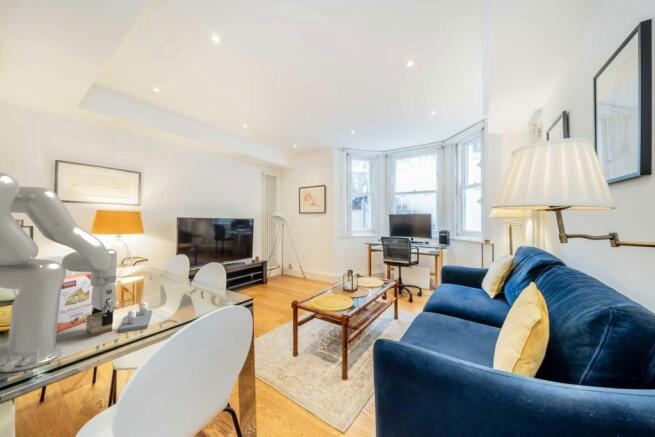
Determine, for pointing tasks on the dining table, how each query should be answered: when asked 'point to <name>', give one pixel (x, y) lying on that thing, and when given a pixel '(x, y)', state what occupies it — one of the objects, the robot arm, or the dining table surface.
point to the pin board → (137, 319)
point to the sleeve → (96, 325)
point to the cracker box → (74, 301)
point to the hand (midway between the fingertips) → (102, 322)
